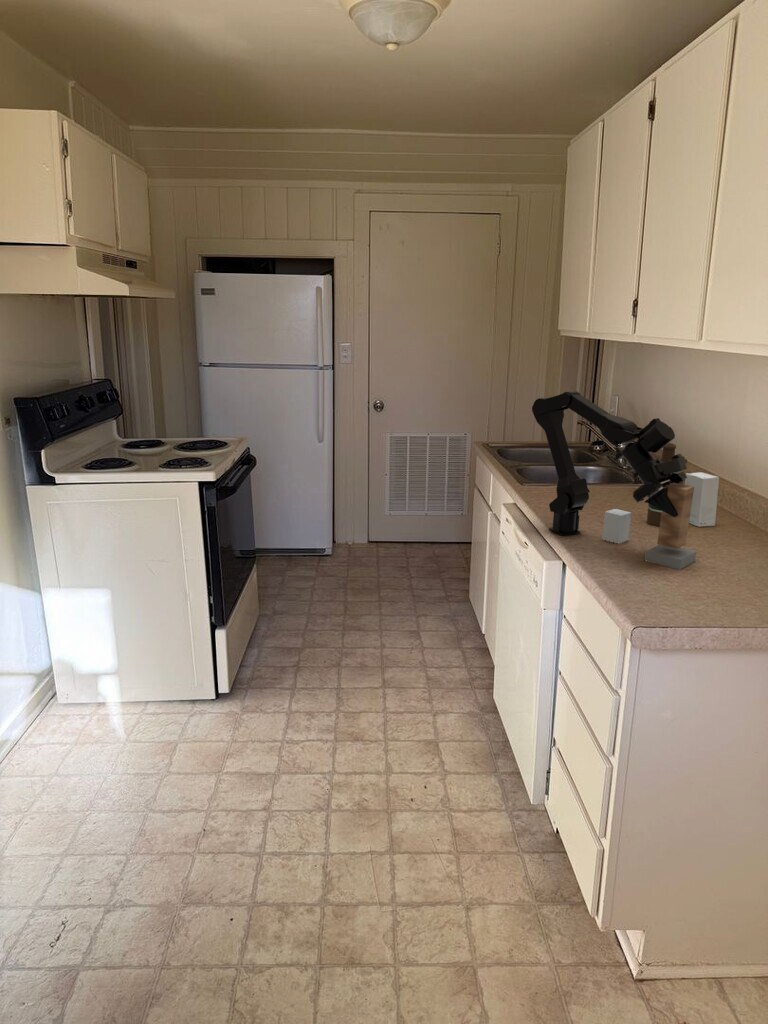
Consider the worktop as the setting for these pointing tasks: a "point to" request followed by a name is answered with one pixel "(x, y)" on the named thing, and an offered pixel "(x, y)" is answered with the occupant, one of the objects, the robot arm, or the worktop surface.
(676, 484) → the walnut post
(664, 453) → the beer bottle
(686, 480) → the skincare box
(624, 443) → the robot arm
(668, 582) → the worktop surface
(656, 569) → the worktop surface
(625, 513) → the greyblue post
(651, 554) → the greyblue square slab
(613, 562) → the worktop surface
